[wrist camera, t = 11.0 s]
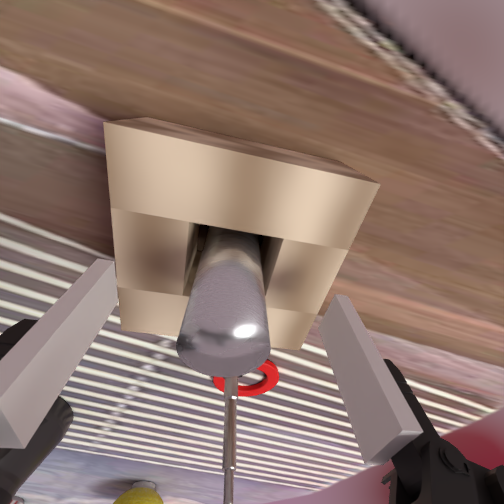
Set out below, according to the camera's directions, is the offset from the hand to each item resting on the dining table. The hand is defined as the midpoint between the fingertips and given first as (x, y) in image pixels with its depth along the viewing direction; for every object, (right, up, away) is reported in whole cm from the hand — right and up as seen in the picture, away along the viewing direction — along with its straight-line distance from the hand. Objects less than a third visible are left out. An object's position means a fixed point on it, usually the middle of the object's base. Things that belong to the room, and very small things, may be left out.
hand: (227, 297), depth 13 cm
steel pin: (0, +4, +7) cm, 9 cm away
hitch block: (0, +5, +7) cm, 9 cm away
